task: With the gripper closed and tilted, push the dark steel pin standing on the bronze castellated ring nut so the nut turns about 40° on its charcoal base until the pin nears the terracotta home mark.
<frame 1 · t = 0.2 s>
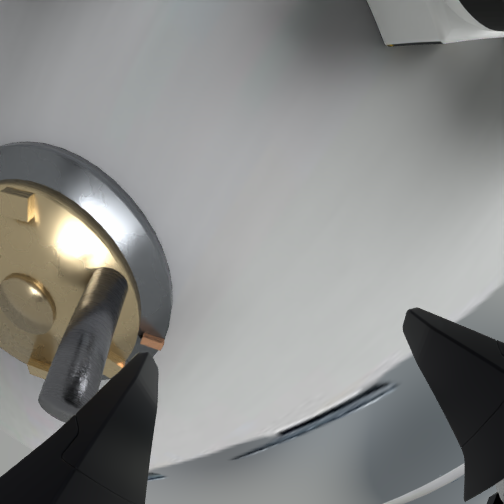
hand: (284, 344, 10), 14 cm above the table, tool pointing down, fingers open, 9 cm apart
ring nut: (5, 339, 18), point 8 cm above the table, hinge at 0.0°
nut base: (41, 280, 24), on the table
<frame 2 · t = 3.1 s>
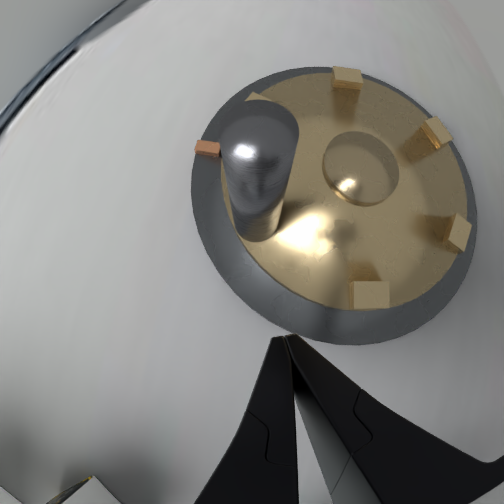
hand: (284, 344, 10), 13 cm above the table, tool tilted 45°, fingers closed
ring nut: (380, 138, 18), point 8 cm above the table, hinge at 0.0°
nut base: (348, 186, 26), on the table
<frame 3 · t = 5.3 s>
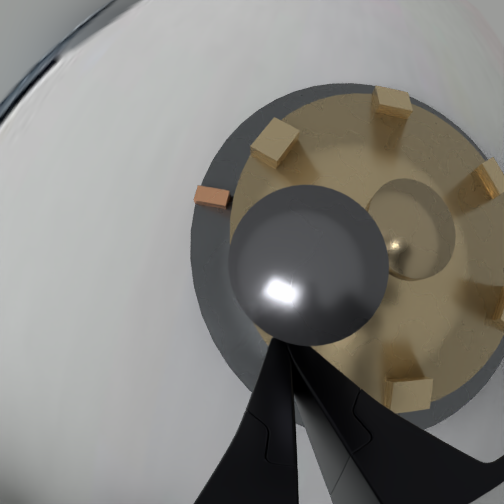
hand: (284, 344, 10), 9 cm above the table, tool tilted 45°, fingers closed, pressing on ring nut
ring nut: (449, 202, 12), point 8 cm above the table, hinge at 1.8°, touching gripper
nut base: (388, 244, 20), on the table
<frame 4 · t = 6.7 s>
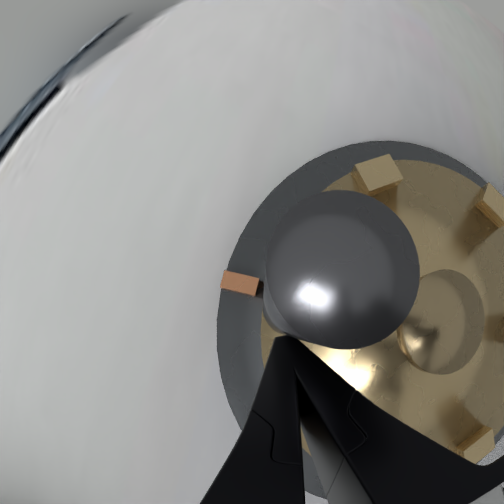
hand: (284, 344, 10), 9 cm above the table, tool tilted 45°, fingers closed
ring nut: (488, 317, 11), point 8 cm above the table, hinge at 35.1°, touching gripper
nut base: (416, 324, 19), on the table
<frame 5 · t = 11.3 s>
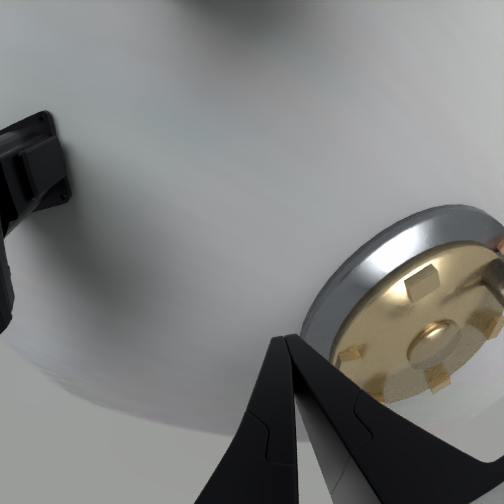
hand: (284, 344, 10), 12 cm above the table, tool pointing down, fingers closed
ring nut: (454, 378, 22), point 8 cm above the table, hinge at 35.2°
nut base: (419, 321, 29), on the table
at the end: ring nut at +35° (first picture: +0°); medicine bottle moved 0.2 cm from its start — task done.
